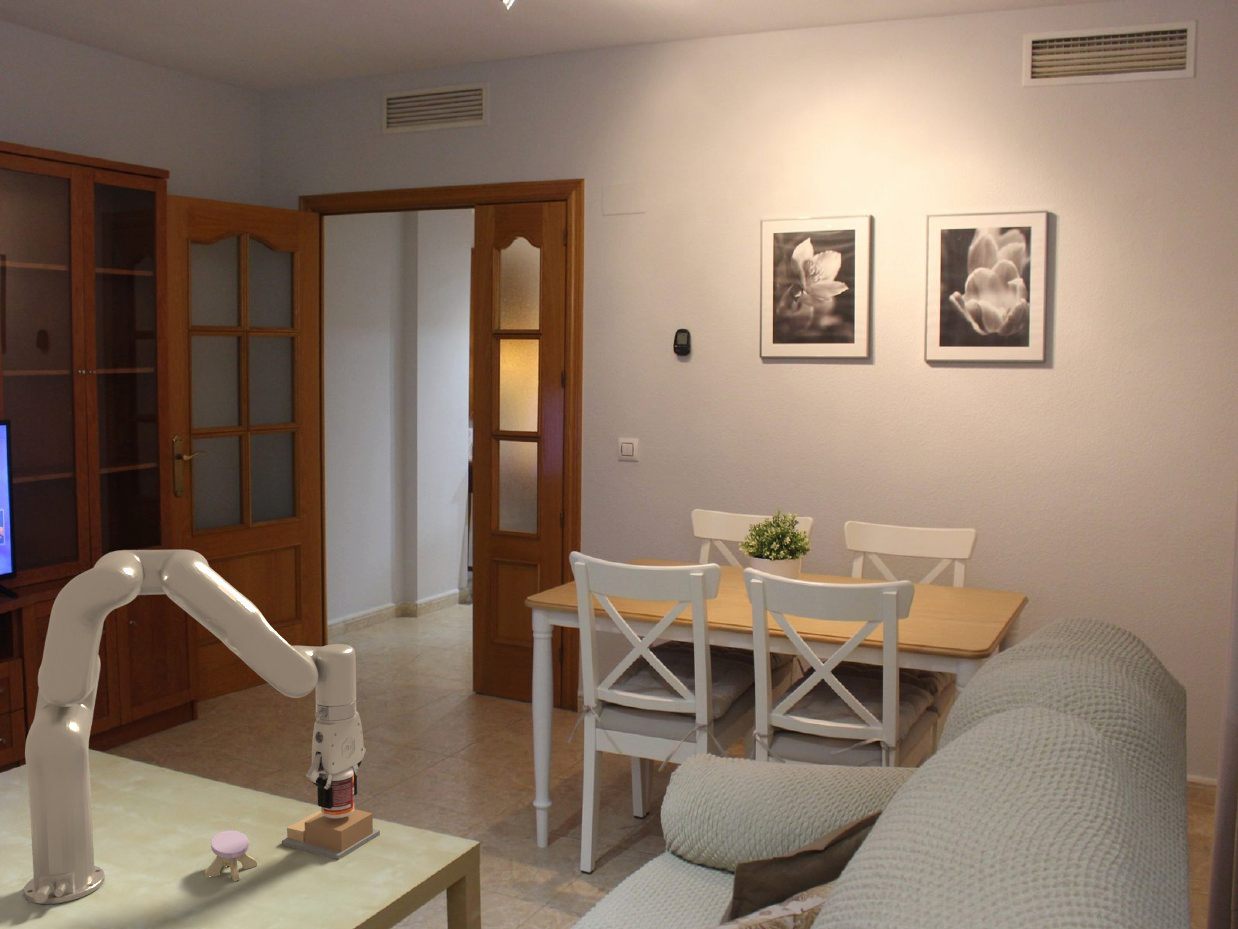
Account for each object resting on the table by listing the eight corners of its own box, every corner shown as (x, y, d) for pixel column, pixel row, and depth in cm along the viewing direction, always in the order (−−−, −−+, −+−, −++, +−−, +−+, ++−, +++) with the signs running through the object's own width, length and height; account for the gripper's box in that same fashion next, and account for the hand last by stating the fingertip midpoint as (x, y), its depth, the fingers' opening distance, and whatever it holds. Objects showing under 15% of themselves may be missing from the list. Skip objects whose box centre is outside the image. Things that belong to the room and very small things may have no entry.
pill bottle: (360, 813, 204) (359, 758, 204) (331, 822, 200) (330, 766, 199) (344, 803, 209) (343, 749, 208) (315, 812, 205) (314, 757, 204)
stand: (379, 834, 208) (379, 811, 208) (338, 860, 198) (338, 835, 197) (324, 821, 215) (324, 798, 214) (281, 844, 204) (281, 820, 203)
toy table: (205, 863, 196) (204, 833, 196) (256, 855, 199) (255, 826, 199) (204, 887, 187) (203, 856, 187) (258, 879, 190) (257, 848, 190)
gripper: (320, 726, 193) (321, 821, 195) (380, 700, 209) (381, 788, 210) (288, 720, 197) (290, 813, 198) (350, 694, 212) (352, 781, 214)
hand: (337, 799), depth 204 cm, fingers closed on pill bottle, 6 cm apart
